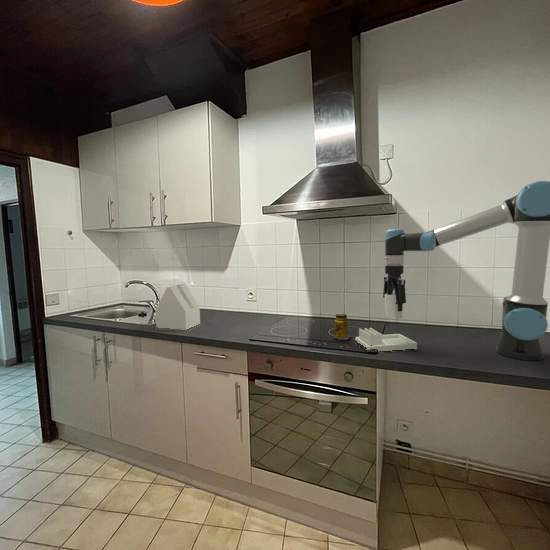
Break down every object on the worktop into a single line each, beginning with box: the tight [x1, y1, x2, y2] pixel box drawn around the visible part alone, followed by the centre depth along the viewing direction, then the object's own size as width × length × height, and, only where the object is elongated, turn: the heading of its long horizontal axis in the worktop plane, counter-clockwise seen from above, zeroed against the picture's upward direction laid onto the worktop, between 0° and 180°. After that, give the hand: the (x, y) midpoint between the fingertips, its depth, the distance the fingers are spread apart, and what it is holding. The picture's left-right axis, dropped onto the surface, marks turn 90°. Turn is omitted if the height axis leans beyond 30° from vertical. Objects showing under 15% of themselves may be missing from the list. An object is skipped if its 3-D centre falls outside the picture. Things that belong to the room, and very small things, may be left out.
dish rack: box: [354, 327, 418, 352], centre depth 137 cm, size 14×22×7 cm, turn 98°
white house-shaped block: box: [155, 283, 201, 330], centre depth 179 cm, size 19×15×25 cm
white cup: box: [384, 292, 404, 319], centre depth 136 cm, size 8×8×10 cm
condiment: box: [334, 313, 349, 338], centre depth 149 cm, size 7×8×12 cm
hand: (393, 316), depth 137 cm, fingers closed on white cup, 7 cm apart
